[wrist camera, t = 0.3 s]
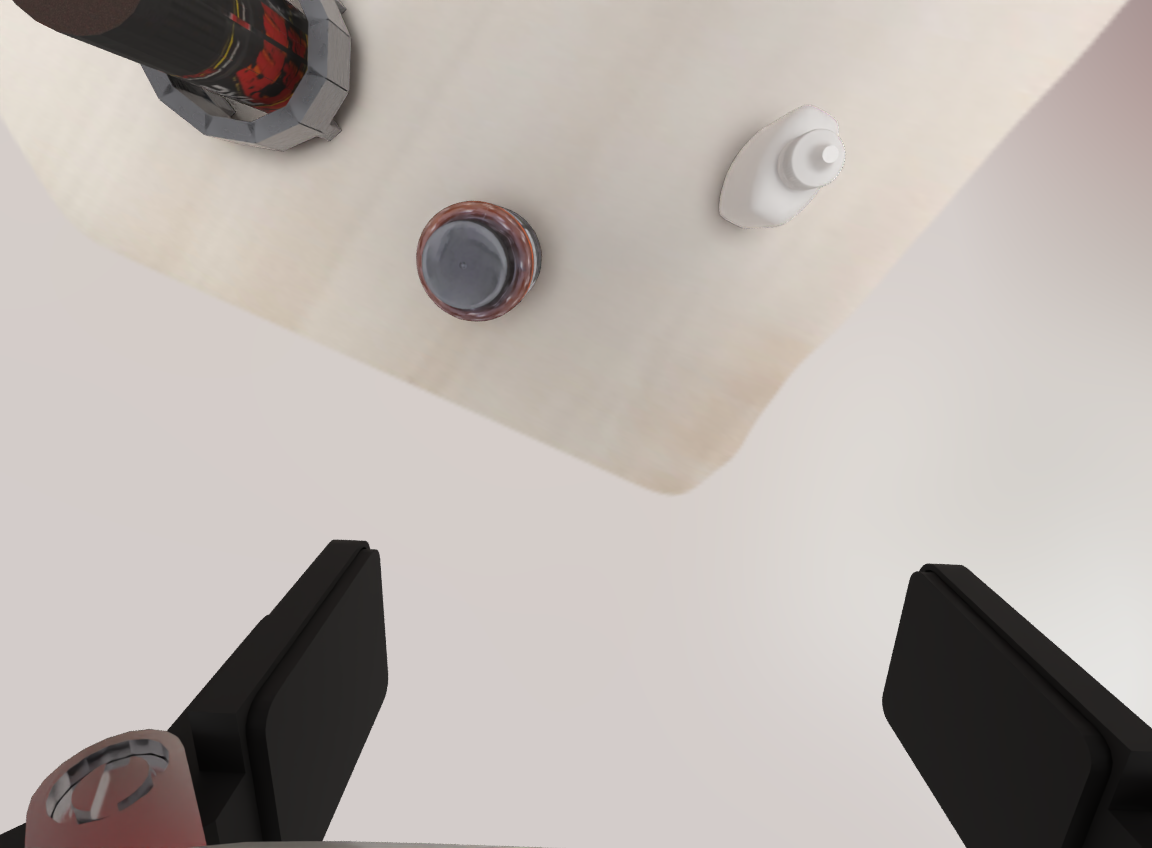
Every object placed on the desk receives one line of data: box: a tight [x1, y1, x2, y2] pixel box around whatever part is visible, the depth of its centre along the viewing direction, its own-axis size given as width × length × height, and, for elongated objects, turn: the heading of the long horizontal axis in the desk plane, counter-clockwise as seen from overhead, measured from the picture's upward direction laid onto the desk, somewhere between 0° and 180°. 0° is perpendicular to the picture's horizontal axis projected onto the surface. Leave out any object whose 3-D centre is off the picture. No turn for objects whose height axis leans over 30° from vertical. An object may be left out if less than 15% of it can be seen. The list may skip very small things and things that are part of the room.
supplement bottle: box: [416, 201, 541, 321], centre depth 33 cm, size 6×6×11 cm
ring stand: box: [141, 0, 351, 151], centre depth 32 cm, size 10×10×5 cm
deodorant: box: [13, 0, 308, 113], centre depth 28 cm, size 6×6×15 cm
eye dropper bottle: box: [719, 105, 846, 229], centre depth 31 cm, size 4×6×12 cm
